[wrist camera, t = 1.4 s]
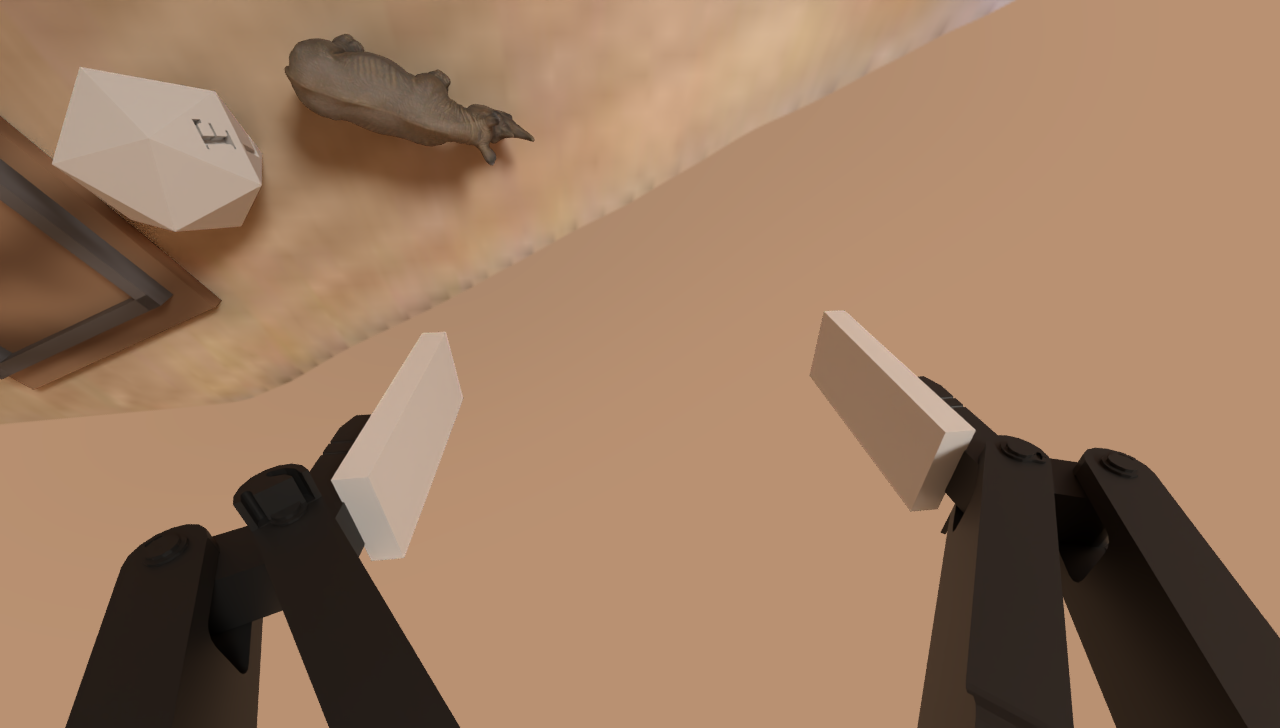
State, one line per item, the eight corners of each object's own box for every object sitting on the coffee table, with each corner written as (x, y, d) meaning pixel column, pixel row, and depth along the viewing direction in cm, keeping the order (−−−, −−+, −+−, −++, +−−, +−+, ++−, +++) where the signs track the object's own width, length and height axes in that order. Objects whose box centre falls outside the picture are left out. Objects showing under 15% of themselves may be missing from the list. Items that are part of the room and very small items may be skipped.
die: (293, 219, 34) (288, 203, 27) (142, 251, 30) (83, 243, 22) (234, 97, 32) (209, 39, 24) (57, 113, 27) (-42, 49, 20)
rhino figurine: (528, 161, 34) (525, 190, 29) (307, 92, 29) (263, 114, 25) (540, 101, 32) (540, 122, 27) (303, 15, 27) (254, 23, 22)
